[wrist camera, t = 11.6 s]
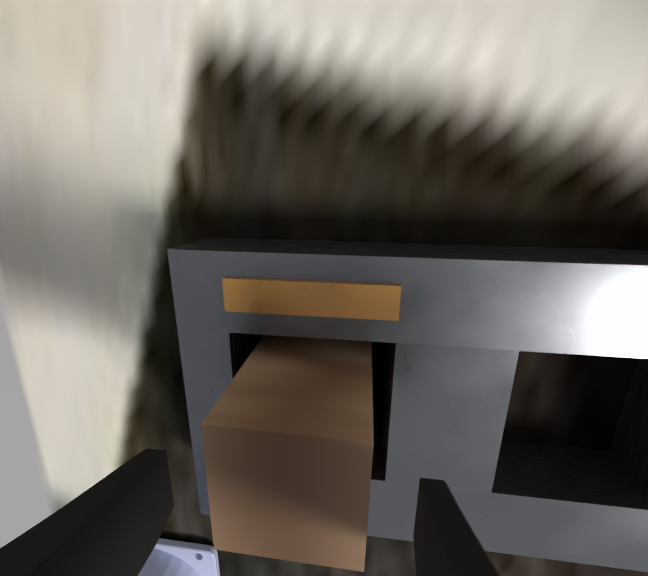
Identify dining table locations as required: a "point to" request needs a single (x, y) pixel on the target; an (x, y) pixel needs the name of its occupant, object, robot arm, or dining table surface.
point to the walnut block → (294, 453)
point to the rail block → (444, 373)
